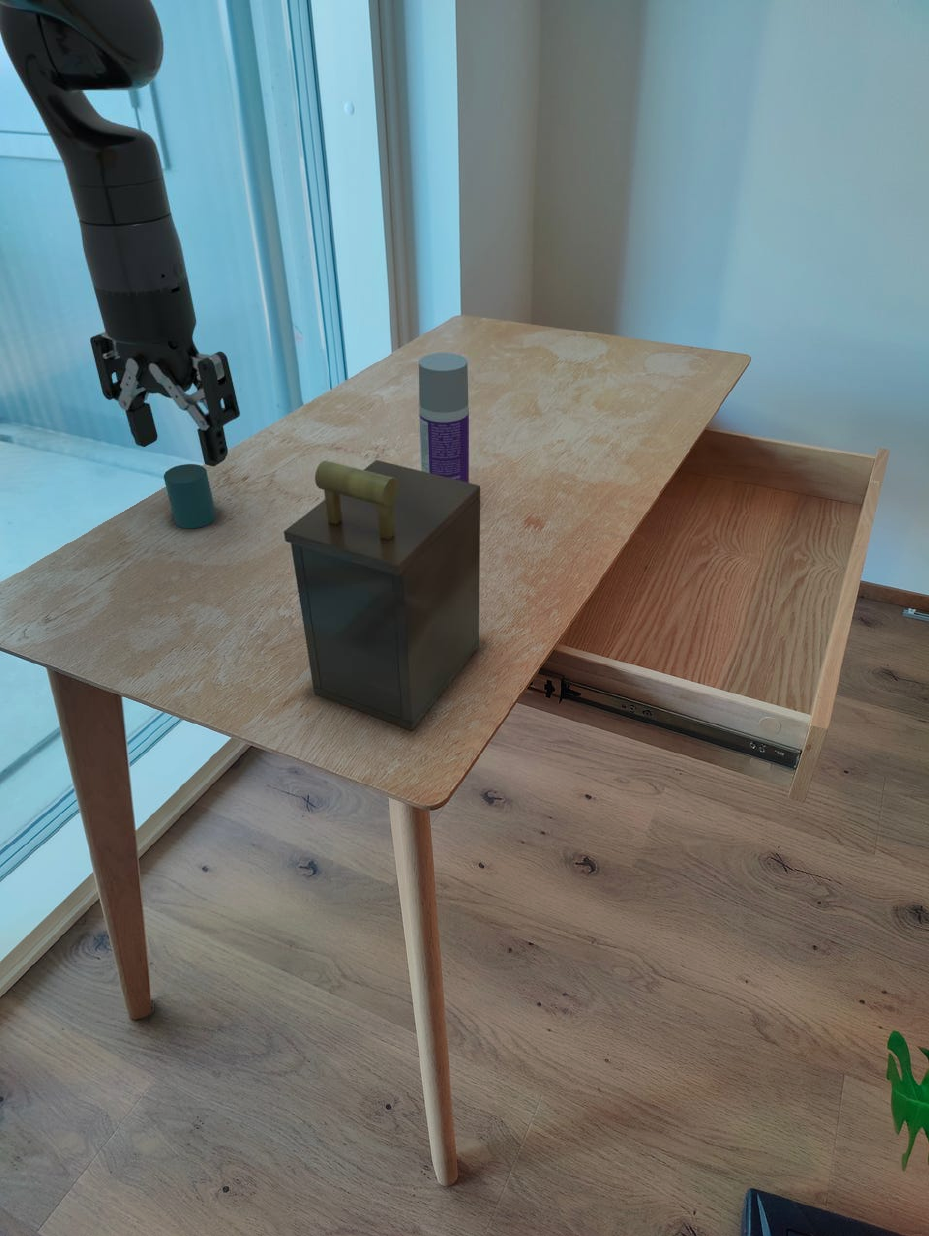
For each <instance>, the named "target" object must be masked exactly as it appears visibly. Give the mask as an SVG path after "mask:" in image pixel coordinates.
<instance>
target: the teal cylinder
mask: <svg viewBox="0 0 929 1236" xmlns="http://www.w3.org/2000/svg"><path fill="white" fill-rule="evenodd" d="M163 480H164V484H165V488H166V489H165V490H166V493H167V496H168V500H169V501H168V502H169V504H170V508H171V512H172V516H173V520H174V523H175V525H176V526H178V527H180V528H182V529H189V530H190V529H191V530H192V529H199V528H203V527H205V526H209V525H210V524H212V523H213V522H214V521H215V520H216V518H217V512H216V508H215V504H214V500H213V499H214V498H213V494H212V489H211V484H210V480H209V476H208V471H207V469H206V467H205V466H203V465H200V464H196V463H185V464H184V463H183V464H179V465H176V466H173V467H171V468H169V469H168V470H167V471H165V472H164V474H163Z"/></svg>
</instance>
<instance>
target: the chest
mask: <svg viewBox="0 0 929 1236" xmlns="http://www.w3.org/2000/svg"><path fill="white" fill-rule="evenodd" d="M290 546H291V547H290V548H291V552H292V559H293V566H294V572H295V579H296V585H297V586H296V587H297V592H298V599H299V605H300V611H301V612H300V613H301V618H302V622H303V623H302V624H303V631H304V637H305V645H306V650H307V656H308V662H309V669H310V675H311V682H312V689H313V693H314V695H318V696H320V697H323V698H326V699H328V700H331V701H333V702H335V703H338V704H341V705H344V706H345V707H346V706H347V707H348V708H351V709H354V710H357V711H359V712H362V713H365V714H367V715H369V716H372V717H375V718H378V719H380V720H383V721H386V722H388V723H390V724H393V725H395V726H398V727H401V728H403V729H406V730H409V731H411V732H412V731H414V729H415V728H416V727H417V726H418V724H419V723H420V722H421V721H422V720H423V718H424V717H425V715H426V714H428V712H429V711H430V709H431V708H432V707H433V706H434V704H435V703H436V702H437V701H438V699H439V698H440V697H441V696H442V694H443V693H444V692H445V690H446V689H447V688H448V687H449V686H450V684H451V683H452V682H453V680H454V679H455V678H456V677H457V675H458V674H459V673H460V672H461V670H462V669H463V668H464V666H466V664H467V663H468V662H469V660H470V659H471V658H472V657H473V656H474V654H475V653H476V651H477V650H478V649H479V647H480V572H481V571H480V568H481V567H480V564H481V563H480V561H481V559H480V558H481V557H480V555H481V553H480V552H481V495H480V496H479V497H478V498H477V499H476V500H475V501H474V502H473V503H472V504H471V505H470V506H469V507H468V508H467V509H466V510H465V511H464V512H463V513H462V514H461V515H460V516H459V517H458V518H457V519H456V520H455V521H454V522H453V523H452V524H451V525H450V526H449V527H448V528H447V529H446V530H445V531H444V532H443V533H442V534H441V535H440V536H439V537H438V538H437V539H436V540H435V541H433V542H432V543H431V544H430V545H429V546H428V547H427V548H426V549H425V550H424V551H423V552H422V553H421V554H420V555H419V556H418V557H417V558H416V559H415V560H414V561H413V562H412V563H411V564H410V565H409V566H408V567H407V568H406V569H405V570H404V571H403V572H402V573H401V574H400V575H399V576H397V575H394V574H390V573H387V572H384V571H380V570H377V569H374V568H371V567H367V566H364V565H361V564H358V563H354V562H351V561H348V560H345V559H341V558H338V557H335V556H331V555H328V554H325V553H322V552H318V551H315V550H312V549H309V548H305V547H302V546H299V545H296V544H292V543H290Z"/></svg>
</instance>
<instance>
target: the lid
mask: <svg viewBox="0 0 929 1236" xmlns="http://www.w3.org/2000/svg"><path fill="white" fill-rule="evenodd" d="M314 482H315V485H316V487H317V488H318V489H320V490H322V491H323V492H324V493H323V494H324V499H323V500H322V501H320V503H318V504H317V505H316V506H315V507H313V508H312V509H310V510H309V511H308V512H306V514H304V515H303V516H301V517H300V518H299V519H297V520H296V521H295V522H294V523H292V524H291V525H290V526H288V527H287V528H286V529H284V531H283V535H284V541H285V543H288V544H291V543H292V544H296V545H299V546H302V547H305V548H309V549H312V550H315V551H318V552H322V553H325V554H328V555H331V556H335V557H338V558H341V559H345V560H348V561H351V562H354V563H358V564H361V565H364V566H367V567H371V568H374V569H377V570H380V571H384V572H387V573H390V574H394V575H397V576H399V575H400V574H401V573H402V572H403V571H404V570H405V569H406V568H407V567H408V566H409V565H410V564H411V563H412V562H413V561H414V560H415V559H416V558H417V557H418V556H419V555H420V554H421V553H422V552H423V551H424V550H425V549H426V548H427V547H428V546H429V545H430V544H431V543H432V542H433V541H435V540H436V539H437V538H438V537H439V536H440V535H441V534H442V533H443V532H444V531H445V530H446V529H447V528H448V527H449V526H450V525H451V524H452V523H453V522H454V521H455V520H456V519H457V518H458V517H459V516H460V515H461V514H462V513H463V512H464V511H465V510H466V509H467V508H468V507H469V506H470V505H471V504H472V503H473V502H474V501H475V500H476V499H477V498H478V497H479V496H480V497H481V485H478V484H474V483H470V482H469V483H467V482H463V481H459V480H455V479H451V478H447V477H443V476H439V475H435V474H431V473H427V472H423V471H422V470H418V469H415V468H411V467H407V466H403V465H399V464H395V463H390V462H386V461H382V460H378V459H375V460H374V461H373V462H371V463H370V464H369V465H367V466H366V467H365V468H364V469H360V468H357V467H353V466H349V465H345V464H341V463H337V462H333V461H329V460H323V461H321V462H320V463H319V464H318V466H317V468H316V471H315V475H314Z"/></svg>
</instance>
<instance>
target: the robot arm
mask: <svg viewBox="0 0 929 1236" xmlns="http://www.w3.org/2000/svg"><path fill="white" fill-rule="evenodd" d="M0 38H1V40H2V44H3V46H4V49H5V51H6V53H7V56H8V58H9V60H10V62H11V64H12V66H13V68H14V70H15V72H16V74H17V75H18V78H19V79H20V81H21V83H22V85H23V86H24V89H25V90H26V93H27V94H28V96H29V97H30V99H31V101H32V103H33V105H34V107H35V108H36V111H37V112H38V114H39V116H40V118H41V120H42V122H43V124H44V126H45V128H46V131H47V132H48V135H49V137H50V138H51V140H52V142H53V145H54V146H55V149H56V151H57V152H58V155H59V157H60V160H61V161H62V165H63V166H64V169H65V174H66V177H67V181H68V186H69V190H70V193H71V197H72V200H73V204H74V208H75V212H76V216H77V218H78V223H79V228H80V234H81V242H82V248H83V253H84V257H85V261H86V265H87V268H88V272H89V275H90V280H91V284H92V287H93V291H94V294H95V298H96V302H97V306H98V310H99V313H100V316H101V320H102V325H103V328H104V331H102V332H101V333H98V334H95V335H93V336H91V337H90V339H89V342H90V346H91V351H92V354H93V359H94V364H95V367H96V371H97V375H98V379H99V384H100V387H101V392H102V395H103V396H104V398H105V399H106V400H108V401H111V400H115V401H116V402H117V403H118V405H119V407H120V408H121V409H122V410H124V411H125V415H126V418H127V422H128V427H129V429H130V433H131V436H132V437H133V440H134V442H135V445H136V446H138V447H142V448H146V447H148V446H150V445H151V444H153V443H156V441H157V440H158V432H157V428H156V424H155V420H154V416H153V412H152V408H151V405H150V402H149V403H148V402H146V401H147V400H148V398H149V395H150V394H160V395H161V396H163V397H165V398H169V399H172V400H173V401H174V403H175V404H176V406H177V407H178V408H179V409H180V410H181V411H186V412H187V413H188V414H189V416H190V417H191V418H192V420H193V421H194V423H195V424H196V426H197V427H198V428H197V430H196V431H197V436H198V439H199V444H200V447H201V448H200V449H201V452H202V453H201V454H202V457H203V463H204V464H205V465H206V466H209V467H213V468H214V467H216V466H217V465H219V464H220V463H223V462H224V461H225V460H226V458H227V457H228V454H229V450H228V445H227V440H226V434H225V430H224V429H225V428H224V426H225V425H227V424H229V423H230V422H232V421H234V420H237V419H238V418H239V417H240V416H241V411H240V407H239V402H238V398H237V394H236V390H235V385H234V380H233V377H232V372H231V368H230V364H229V360H228V357H227V355H226V354H225V353H224V352H223V351H217V352H215V353H212V354H206V353H200V351H199V350H198V348H197V347H196V344H195V342H194V339H193V338H194V337H193V336H194V332H195V329H196V326H197V318H196V317H197V316H196V311H195V307H194V304H193V303H194V302H193V297H192V291H191V288H190V283H189V278H188V277H189V276H188V273H187V268H186V263H185V257H184V252H183V248H182V247H183V246H182V243H181V239H180V236H179V233H178V231H177V228H176V225H175V221H174V217H173V214H172V211H171V205H170V201H169V195H168V191H167V186H166V180H165V176H164V170H163V165H162V161H161V156H160V152H159V149H158V147H157V144H156V141H155V140H154V138H153V137H152V136H151V135H150V134H149V133H148V132H146V131H144V130H142V129H140V128H136V127H132V126H128V125H124V124H121V123H117V122H113V121H111V120H109V119H107V118H104V117H103V116H102V115H100V113H98V111H97V110H96V109H95V107H94V106H93V104H92V103H91V101H90V100H89V98H88V97H87V95H86V93H85V92H84V91H135V90H140V89H142V88H145V87H147V86H149V84H151V83H152V82H153V81H154V80H155V79H156V77H157V76H158V74H159V72H160V70H161V68H162V64H163V60H164V52H165V51H164V50H165V45H164V43H165V42H164V35H163V29H162V26H161V22H160V19H159V15H158V14H157V10H156V8H155V6H154V4H153V3H152V1H151V0H0ZM113 374H115V376H116V381H114V379H113ZM192 386H194V387H195V388H196V391H195V392H193V393H191V394H187V393H186V392H188V391H190V389H191V388H192ZM222 402H223V405H222ZM199 403H201V404H202V405H203V406H204V408H205V409H206V410H207V411H208V412H206V413H205V412H204V410H203V409H202V407H201V406H200V405H199ZM223 406H224V407H223Z"/></svg>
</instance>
